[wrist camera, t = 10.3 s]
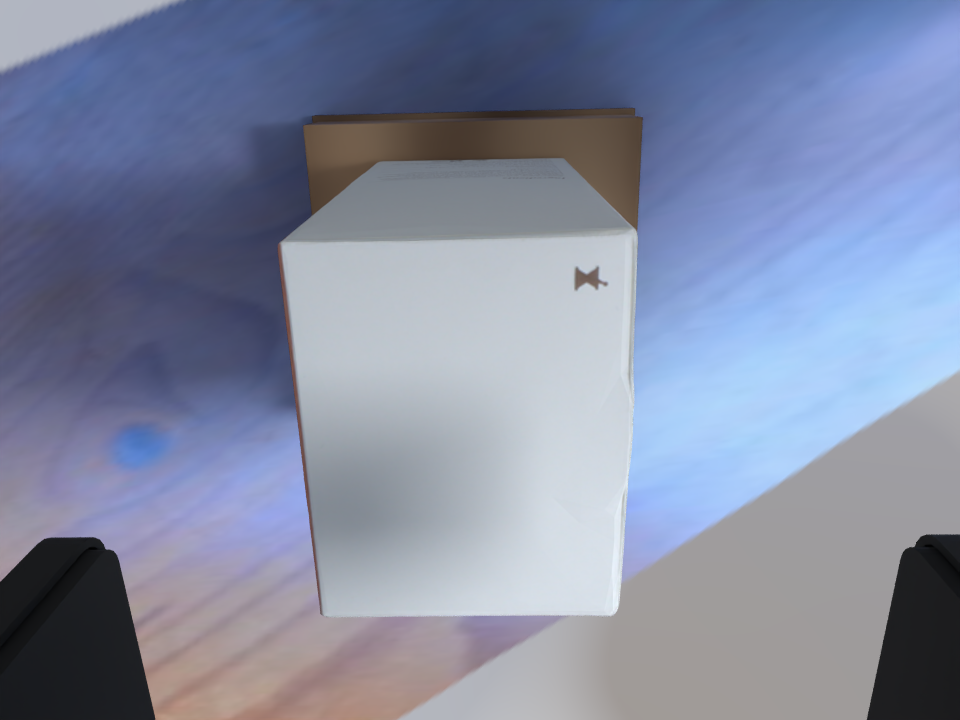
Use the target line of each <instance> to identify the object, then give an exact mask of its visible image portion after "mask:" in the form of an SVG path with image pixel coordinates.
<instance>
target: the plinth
mask: <svg viewBox="0 0 960 720" xmlns="http://www.w3.org/2000/svg"><path fill="white" fill-rule="evenodd" d="M312 120H313V123H311V124H307V125H303V129H304V139H305V150H306V160H307V170H308V180H309V190H310V201H311V211H312V215H314V214H315V213H316V212H317V211H319V210H320V209H321V208H322V207H323V206H325V205H326V204H327V203H328V202H330V201H331V200H332V199H333V198H334V197H336V196H337V195H338V194H339V193H340V192H342V191H343V190H344V189H345V188H347V187H348V186H349V185H350V184H351V183H352V182H353V181H355V180H356V179H357V178H358V177H360V176H361V175H362V174H364V173H365V172H367V171H368V170H369V169H370V168H371V167H373V166H374V165H375V164H376V163H378V162H381V161H428V160H488V159H536V158H564V159H565V160H566V161H567V162H568V163H569V164H570V165H571V166H572V167H573V168H574V169H575V170H576V171H577V172H578V173H579V174H580V175H581V176H582V177H583V178H584V179H585V180H586V181H587V182H588V183H589V184H590V185H591V186H592V187H593V188H594V189H595V190H596V191H597V192H598V193H599V194H600V195H601V196H602V197H603V198H604V199H605V200H606V201H607V202H608V203H609V204H610V205H611V206H612V207H613V208H614V209H615V210H616V211H617V212H618V213H619V214H620V215H621V216H622V217H623V218H624V219H625V220H626V221H627V222H628V223H629V224H630V225H631V226H632V227H633V228H635V229H636V232H637V224H638V203H639V183H640V162H641V142H642V121H643V117H639V116H635V108H610V109H568V110H525V111H483V112H441V113H398V114H356V115H315V116H312Z"/></svg>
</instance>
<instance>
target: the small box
mask: <svg viewBox="0 0 960 720" xmlns="http://www.w3.org/2000/svg"><path fill="white" fill-rule="evenodd" d="M637 248H638V237H637V232H636V229H635V228H633V227H632V226H631V225H630V224H629V223H628V222H627V221H626V220H625V219H624V218H623V217H622V216H621V215H620V214H619V213H618V212H617V211H616V210H615V209H614V208H613V207H612V206H611V205H610V204H609V203H608V202H607V201H606V200H605V199H604V198H603V197H602V196H601V195H600V194H599V193H598V192H597V191H596V190H595V189H594V188H593V187H592V186H591V185H590V184H589V183H588V182H587V181H586V180H585V179H584V178H583V177H582V176H581V175H580V174H579V173H578V172H577V171H576V170H575V169H574V168H573V167H572V166H571V165H570V164H569V163H568V162H567V161H566V160H565V159H564V158H536V159H488V160H428V161H381V162H378V163H376V164H375V165H374V166H373V167H371V168H370V169H369V170H368V171H367V172H365V173H364V174H362V175H361V176H360V177H358V178H357V179H356V180H355V181H353V182H352V183H351V184H350V185H349V186H348V187H347V188H345V189H344V190H343V191H342V192H340V193H339V194H338V195H337V196H336V197H334V198H333V199H332V200H331V201H330V202H328V203H327V204H326V205H325V206H323V207H322V208H321V209H320V210H319V211H317V212H316V213H315V214H314V215H312V216H311V217H310V218H309V219H308V220H306V221H305V222H304V223H303V224H301V225H300V226H299V227H298V228H297V229H296V230H294V231H293V232H292V233H291V234H289V235H288V236H287V237H286V238H285V239H284V240H282V241H281V242H280V243H279V244H278V258H279V266H280V275H281V284H282V293H283V301H284V310H285V319H286V327H287V336H288V344H289V352H290V360H291V368H292V377H293V386H294V395H295V403H296V412H297V420H298V428H299V437H300V446H301V455H302V463H303V472H304V481H305V490H306V498H307V506H308V512H309V522H310V530H311V538H312V546H313V554H314V562H315V570H316V579H317V588H318V596H319V603H320V614H321V615H323V616H325V617H396V616H506V615H522V616H613V615H614V614H615V612H616V611H617V609H618V607H619V600H620V588H621V576H622V563H623V550H624V533H625V518H626V504H627V490H628V476H629V467H630V459H631V450H632V437H633V409H634V383H633V351H634V323H635V302H636V272H637Z"/></svg>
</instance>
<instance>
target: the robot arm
mask: <svg viewBox="0 0 960 720" xmlns="http://www.w3.org/2000/svg"><path fill="white" fill-rule="evenodd" d="M0 720H155V715H154V711H153V706H152V702H151V698H150V693H149V689H148V685H147V680H146V676H145V672H144V667H143V663H142V659H141V654H140V650H139V646H138V641H137V637H136V633H135V628H134V624H133V620H132V615H131V611H130V607H129V602H128V598H127V594H126V589H125V585H124V581H123V576H122V572H121V568H120V563H119V560H118V557H117V555H116V553H115V552H114V551H112V550H106V549H105V547H104V544H103V543H102V542H101V541H100V540H99V539H97V538H94V537H78V538H47V539H44V540H42V541H41V542H40V543H38V544H37V545H36V546H35V547H34V548H33V549H32V550H31V551H30V552H29V553H28V554H27V555H26V556H25V557H24V558H23V559H22V560H21V561H20V562H19V563H18V564H17V565H16V566H15V568H14V569H13V570H12V571H11V572H10V573H9V574H8V575H7V576H6V577H5V578H4V579H3V580H2V581H1V582H0ZM867 720H960V535H924V536H922V537H920V539H919V540H918V541H917V542H916V545H915V547H910V548H907V549H905V551H904V552H903V554H902V556H901V560H900V564H899V569H898V574H897V578H896V583H895V588H894V593H893V597H892V602H891V607H890V612H889V617H888V621H887V626H886V631H885V636H884V640H883V645H882V650H881V655H880V660H879V664H878V669H877V674H876V679H875V683H874V688H873V693H872V698H871V703H870V707H869V712H868V717H867Z"/></svg>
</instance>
